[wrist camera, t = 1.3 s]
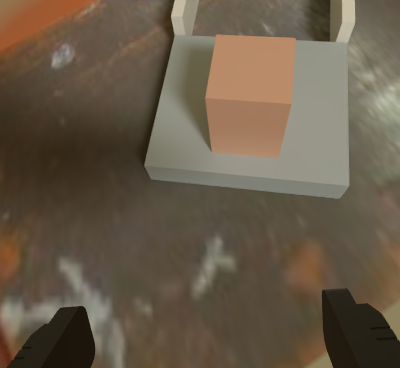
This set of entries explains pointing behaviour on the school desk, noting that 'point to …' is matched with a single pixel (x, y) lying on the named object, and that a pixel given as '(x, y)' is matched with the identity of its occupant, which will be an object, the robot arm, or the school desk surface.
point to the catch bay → (339, 18)
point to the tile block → (250, 94)
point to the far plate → (293, 138)
